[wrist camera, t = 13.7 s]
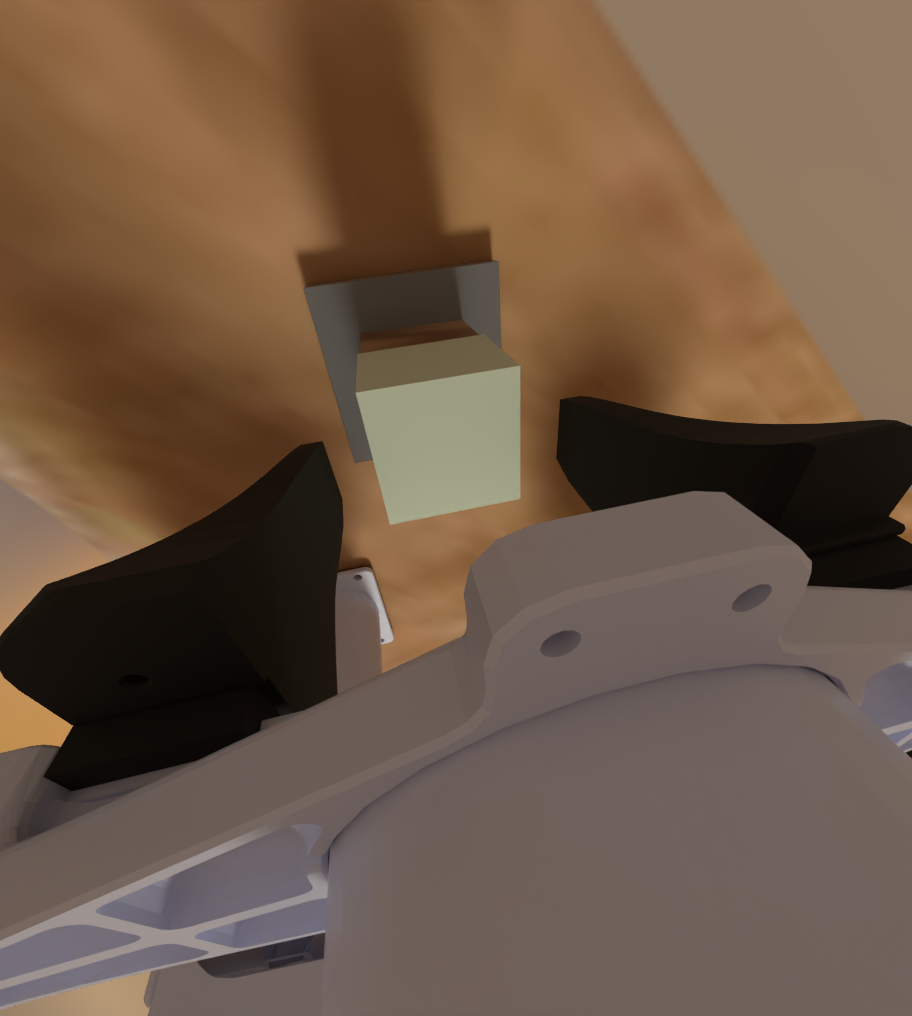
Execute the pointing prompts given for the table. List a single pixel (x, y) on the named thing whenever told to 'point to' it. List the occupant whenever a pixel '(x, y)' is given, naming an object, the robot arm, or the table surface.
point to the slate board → (396, 320)
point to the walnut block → (414, 335)
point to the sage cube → (442, 425)
